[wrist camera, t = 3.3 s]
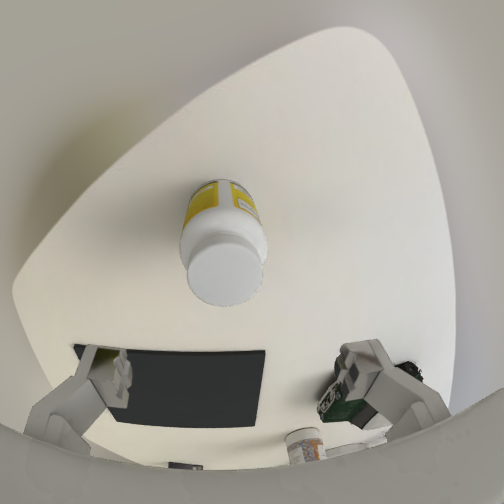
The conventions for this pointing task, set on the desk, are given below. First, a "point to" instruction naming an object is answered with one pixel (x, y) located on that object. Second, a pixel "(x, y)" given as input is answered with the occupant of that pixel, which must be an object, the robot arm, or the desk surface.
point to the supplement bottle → (223, 244)
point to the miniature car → (356, 406)
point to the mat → (192, 388)
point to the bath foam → (305, 446)
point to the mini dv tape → (184, 466)
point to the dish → (344, 450)
